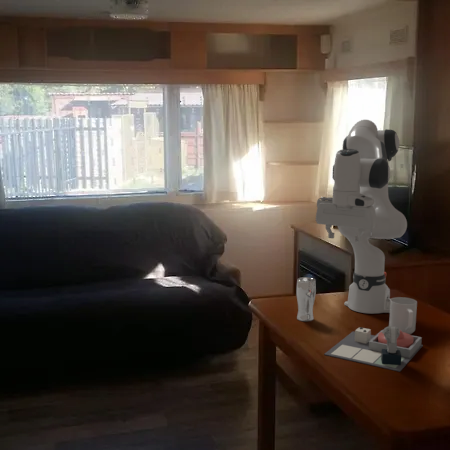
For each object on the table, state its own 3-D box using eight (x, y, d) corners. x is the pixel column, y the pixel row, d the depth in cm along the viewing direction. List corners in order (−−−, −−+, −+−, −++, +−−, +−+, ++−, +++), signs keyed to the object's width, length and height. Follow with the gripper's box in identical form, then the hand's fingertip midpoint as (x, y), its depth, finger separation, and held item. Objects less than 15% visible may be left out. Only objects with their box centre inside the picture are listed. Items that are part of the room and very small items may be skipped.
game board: (352, 332, 218) (353, 319, 218) (422, 345, 206) (423, 332, 205) (324, 354, 198) (324, 341, 197) (399, 371, 185) (400, 357, 184)
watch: (398, 357, 195) (400, 323, 193) (401, 367, 187) (403, 332, 185) (380, 356, 196) (382, 322, 194) (382, 366, 188) (384, 331, 186)
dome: (384, 337, 211) (384, 321, 210) (417, 343, 205) (418, 327, 204) (373, 347, 202) (374, 330, 201) (407, 354, 196) (408, 337, 195)
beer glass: (314, 322, 228) (315, 282, 226) (294, 321, 230) (296, 281, 227) (315, 316, 235) (316, 277, 232) (296, 315, 236) (297, 276, 234)
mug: (385, 327, 224) (386, 297, 222) (409, 326, 224) (411, 296, 222) (397, 339, 212) (398, 307, 210) (422, 338, 213) (424, 307, 211)
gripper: (313, 197, 211) (312, 237, 214) (372, 202, 201) (370, 244, 203) (320, 195, 217) (319, 234, 219) (378, 200, 206) (376, 241, 208)
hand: (344, 239), depth 211 cm, fingers open, 8 cm apart
